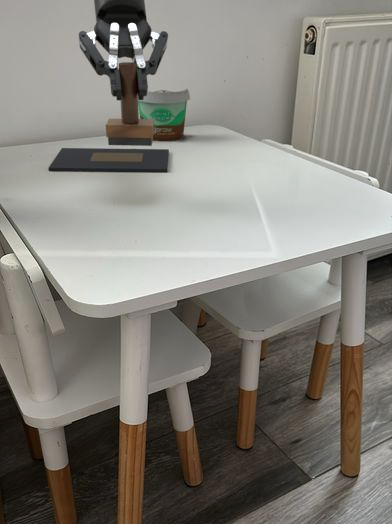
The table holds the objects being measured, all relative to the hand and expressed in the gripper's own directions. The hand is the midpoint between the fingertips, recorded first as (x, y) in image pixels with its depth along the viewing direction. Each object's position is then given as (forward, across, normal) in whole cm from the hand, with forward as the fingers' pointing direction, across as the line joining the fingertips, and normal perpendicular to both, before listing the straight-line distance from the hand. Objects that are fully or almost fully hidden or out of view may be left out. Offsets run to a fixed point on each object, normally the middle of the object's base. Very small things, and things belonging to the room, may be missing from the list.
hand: (130, 96), depth 81 cm
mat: (-6, +2, -28) cm, 29 cm away
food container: (-17, -11, -40) cm, 45 cm away
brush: (+3, 0, -6) cm, 7 cm away
